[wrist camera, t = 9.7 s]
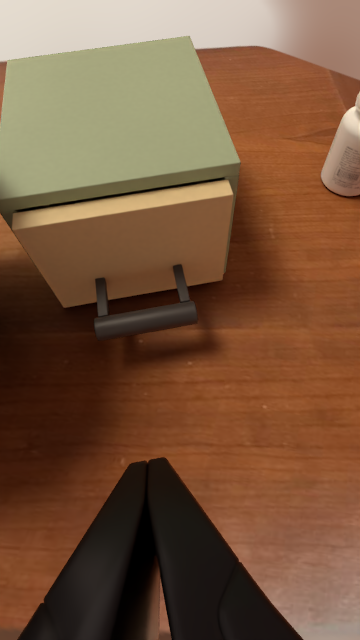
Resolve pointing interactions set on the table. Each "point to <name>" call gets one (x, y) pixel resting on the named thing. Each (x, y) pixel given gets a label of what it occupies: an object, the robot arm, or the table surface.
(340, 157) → the pill bottle
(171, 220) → the drawer
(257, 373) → the table surface
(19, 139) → the cabinet
